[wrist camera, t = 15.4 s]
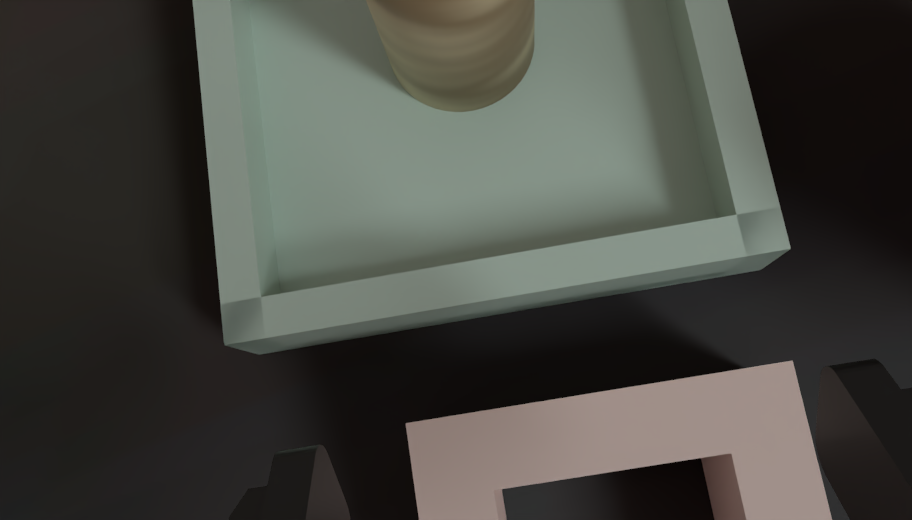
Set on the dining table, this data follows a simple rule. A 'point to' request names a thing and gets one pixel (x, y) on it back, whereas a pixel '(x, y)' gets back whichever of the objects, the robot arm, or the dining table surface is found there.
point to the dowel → (457, 48)
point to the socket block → (631, 445)
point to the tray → (473, 169)
